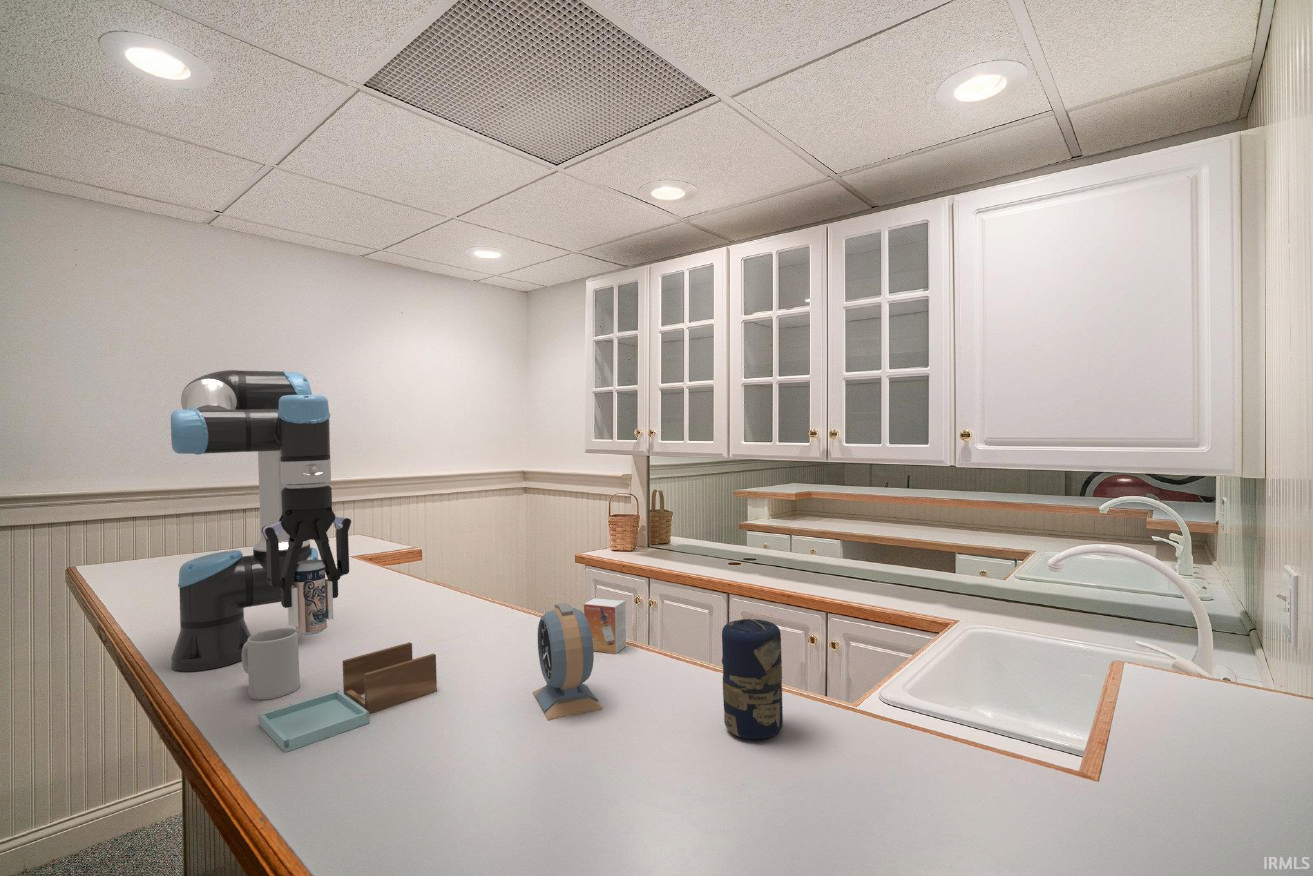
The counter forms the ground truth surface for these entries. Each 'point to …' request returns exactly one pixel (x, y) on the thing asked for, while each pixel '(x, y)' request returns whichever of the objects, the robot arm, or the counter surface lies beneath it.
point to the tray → (313, 720)
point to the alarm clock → (565, 663)
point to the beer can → (311, 596)
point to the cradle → (388, 677)
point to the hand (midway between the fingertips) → (311, 621)
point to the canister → (752, 678)
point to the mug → (272, 663)
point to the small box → (607, 624)
